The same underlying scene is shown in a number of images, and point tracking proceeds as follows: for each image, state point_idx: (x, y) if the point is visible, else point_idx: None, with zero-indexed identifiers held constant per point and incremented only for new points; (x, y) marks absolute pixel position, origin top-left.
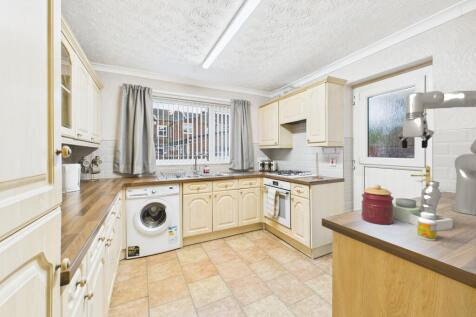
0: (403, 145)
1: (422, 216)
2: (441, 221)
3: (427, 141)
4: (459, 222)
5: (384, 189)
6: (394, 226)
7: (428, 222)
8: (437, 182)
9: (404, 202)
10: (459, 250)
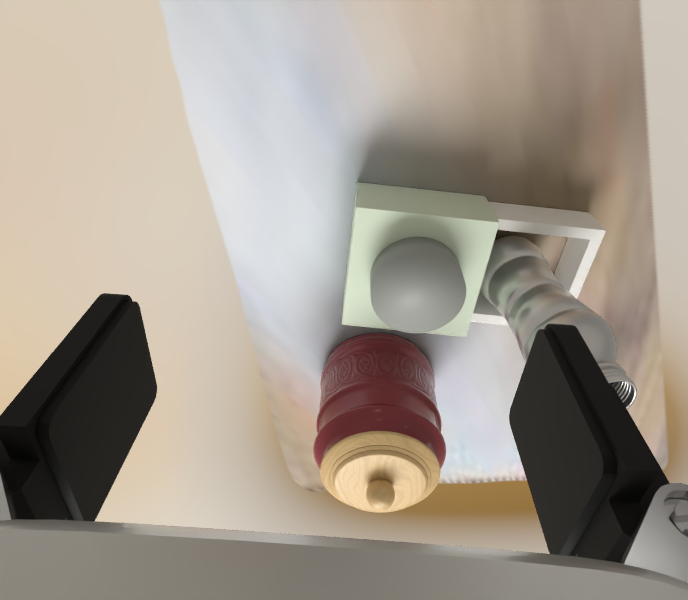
0: (134, 435)
1: None
2: (576, 294)
3: (658, 481)
4: (593, 66)
5: (399, 467)
6: (449, 377)
7: None
8: (622, 378)
9: (432, 327)
10: (638, 395)
